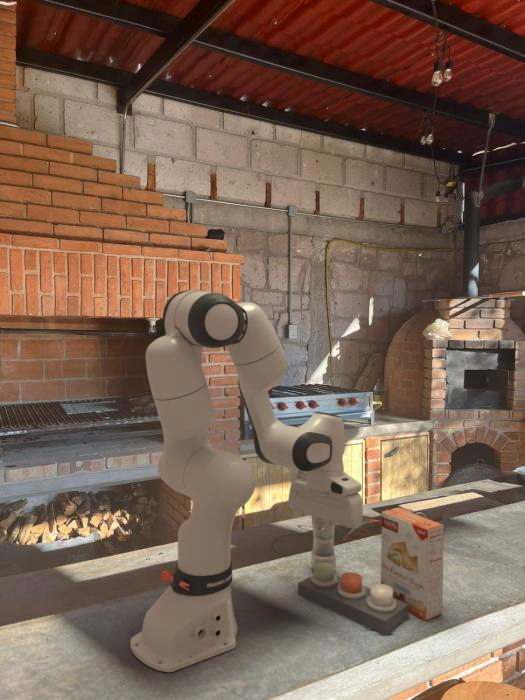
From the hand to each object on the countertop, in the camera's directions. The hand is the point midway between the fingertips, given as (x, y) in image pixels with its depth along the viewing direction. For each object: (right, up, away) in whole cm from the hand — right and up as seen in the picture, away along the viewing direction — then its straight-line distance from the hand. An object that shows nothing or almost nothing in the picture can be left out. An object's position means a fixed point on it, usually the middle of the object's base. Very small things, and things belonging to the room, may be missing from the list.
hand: (322, 536), depth 129 cm
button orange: (+6, -10, -5) cm, 13 cm away
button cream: (+12, -11, -11) cm, 19 cm away
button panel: (+6, -15, -5) cm, 16 cm away
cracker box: (+20, -15, -4) cm, 25 cm away
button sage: (0, -10, +1) cm, 10 cm away
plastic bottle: (+2, -14, +13) cm, 20 cm away
